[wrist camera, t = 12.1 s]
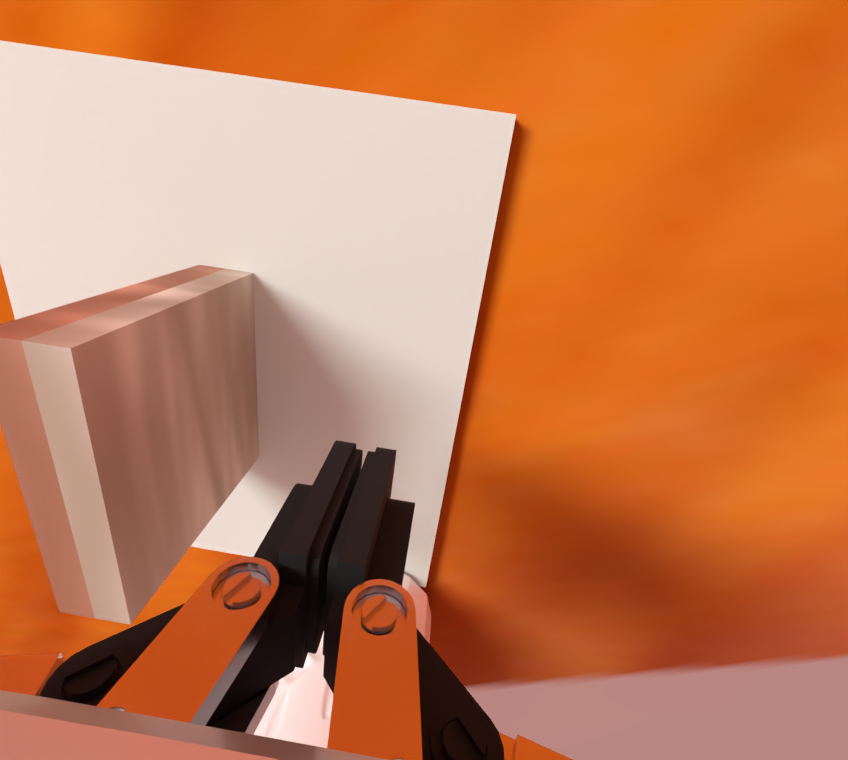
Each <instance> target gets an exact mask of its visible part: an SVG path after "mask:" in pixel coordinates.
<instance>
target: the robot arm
mask: <svg viewBox="0 0 848 760" xmlns="http://www.w3.org/2000/svg"><path fill="white" fill-rule="evenodd" d="M362 456H363V450H360V449H356V443H350V442H344V441H338V440H336V441H335V442H334V444H333V446H332V448H331V450H330V452H329V454H328V456H327V458H326V460H325V462H324V464H323V466H322V468H321V470H320V471H319V473H318V475H317V477H316V479H315V481H314V483H313V485H306V484H300V483H297V484H295V486H294V487H293V488H292V490H291V492H290V494H289V495H288V497H287V499H286V501H285V502H284V504H283V506H282V508H281V509H280V511H279V513H278V515H277V516H276V518H275V520H274V522H273V523H272V525H271V527H270V529H269V530H268V532H267V534H266V536H265V537H264V539H263V541H262V543H261V544H260V546H259V548H258V550H257V551H256V553H255V555H254V557H241V558H237V559H234V560H231V561H228V562H227V563H225V564H223V565H221V566H219V567H218V568H217V569H216V570H215V571H214V572H213V573H211V574H210V575H209V577H208V578H207V579H206V580H205V581H204V582H203V584H202V585H201V586H200V587H199V588H198V589H197V590H196V592H195V593H194V594H193V595H192V596H191V597H190V599H189V600H188V601H187V602H186V603H185V604H183V605H180V606H178V607H176V608H174V609H171V610H169V611H167V612H165V613H163V614H160V615H158V616H156V617H154V618H151V619H149V620H147V621H145V622H142V623H140V624H138V625H136V626H133V627H131V628H129V629H127V630H125V631H122V632H120V633H118V634H116V635H113V636H111V637H109V638H107V639H104V640H102V641H100V642H98V643H95V644H93V645H91V646H89V647H87V648H85V649H83V650H81V651H80V652H78V653H76V654H74V655H72V656H71V657H70V658H62V655H61V652H58V653H40V654H22V655H5V656H0V760H572V759H570V758H568V757H566V756H563V755H561V754H559V753H557V752H555V751H552V750H550V749H548V748H546V747H543V746H541V745H539V744H537V743H535V742H532V741H530V740H528V739H526V738H524V737H521V736H519V735H517V738H516V740H514V739H512V738H510V737H508V736H506V735H503V734H501V733H499V732H498V731H497V729H496V727H495V726H494V724H493V722H492V721H491V719H490V718H489V717H488V716H487V714H486V713H485V712H484V711H483V709H482V708H481V707H480V706H479V705H478V703H477V702H476V701H475V700H474V698H473V697H472V696H471V695H470V693H469V692H468V691H467V690H466V688H465V687H464V686H463V685H462V683H461V682H460V681H459V680H458V678H457V677H456V676H455V675H454V674H453V672H452V671H451V670H450V669H449V667H448V666H447V665H446V664H445V662H444V661H443V660H442V659H441V657H440V656H439V655H438V654H437V653H436V651H435V650H434V649H433V648H432V646H431V645H430V644H429V643H428V641H427V640H426V639H425V638H424V636H423V635H422V634H421V633H420V632H419V630H418V629H417V628H416V610H415V605H414V601H413V599H412V597H411V596H410V594H409V592H408V591H407V590H406V589H404V588H403V587H402V583H403V577H404V571H405V564H406V558H407V552H408V546H409V540H410V533H411V527H412V521H413V515H414V508H415V503H414V502H408V501H402V500H396V499H390V498H391V491H392V483H393V475H394V468H395V460H396V450H392V449H386V448H380V447H377V448H376V450H375V452H372V451H368V452H367V455H366V458H365V460H364V463H363V466H362ZM361 467H362V469H361ZM323 632H324V637H323V655H324V670H323V677H324V679H325V680H326V682H327V684H328V686H329V687H330V689H331V691H332V693H333V703H332V711H331V720H330V728H329V737H328V745H327V748H323V747H318V746H312V745H307V744H301V743H296V742H291V741H285V740H280V739H274V738H269V737H263V736H258V735H254V733H255V731H256V729H257V727H258V725H259V723H260V721H261V719H262V718H263V716H264V714H265V712H266V710H267V708H268V706H269V704H270V702H271V701H272V699H273V697H274V695H275V693H276V690H277V687H278V685H279V680H280V679H282V678H283V677H285V676H286V675H288V674H290V673H291V672H293V671H294V669H295V667H297V668H303V667H304V664H305V661H306V658H307V655H308V653H313V654H316V652H317V650H318V647H319V644H320V641H321V638H322V635H323Z"/></svg>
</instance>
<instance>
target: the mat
mask: <svg viewBox="0 0 848 760" xmlns="http://www.w3.org/2000/svg"><path fill="white" fill-rule="evenodd" d="M515 119H516V114H509V113H502V112H495V111H488V110H481V109H474V108H467V107H460V106H453V105H446V104H439V103H432V102H425V101H418V100H411V99H404V98H397V97H390V96H383V95H376V94H369V93H362V92H355V91H348V90H341V89H334V88H327V87H320V86H313V85H306V84H299V83H292V82H285V81H278V80H271V79H264V78H257V77H250V76H243V75H236V74H229V73H222V72H215V71H208V70H201V69H194V68H188V67H181V66H174V65H167V64H160V63H153V62H146V61H139V60H132V59H125V58H118V57H111V56H104V55H97V54H90V53H83V52H76V51H69V50H62V49H55V48H48V47H41V46H34V45H27V44H20V43H13V42H6V41H0V264H1V267H2V271H3V275H4V279H5V283H6V286H7V290H8V294H9V298H10V302H11V306H12V309H13V313H14V317H15V320H16V319H20V318H23V317H26V316H30V315H33V314H36V313H40V312H43V311H46V310H50V309H53V308H56V307H60V306H63V305H66V304H70V303H73V302H76V301H80V300H83V299H86V298H90V297H93V296H96V295H100V294H103V293H106V292H110V291H113V290H116V289H120V288H123V287H126V286H130V285H133V284H136V283H140V282H143V281H146V280H150V279H153V278H156V277H160V276H163V275H166V274H170V273H173V272H176V271H180V270H183V269H186V268H190V267H193V266H196V265H205V266H211V267H218V268H224V269H231V270H237V271H244V272H251V273H253V284H254V316H255V348H256V380H257V412H258V444H259V458H258V459H257V460H256V462H255V463H254V464H253V466H252V467H251V468H250V469H249V471H248V472H247V473H246V475H245V476H244V477H243V479H242V480H241V481H240V482H239V484H238V485H237V486H236V488H235V489H234V490H233V492H232V493H231V494H230V496H229V497H228V498H227V499H226V501H225V502H224V503H223V505H222V506H221V507H220V509H219V510H218V511H217V513H216V514H215V515H214V516H213V518H212V519H211V520H210V522H209V523H208V524H207V526H206V527H205V528H204V529H203V531H202V532H201V533H200V535H199V536H198V537H197V539H196V540H195V541H194V543H193V544H192V545H191V546H192V547H197V548H203V549H209V550H215V551H220V552H226V553H232V554H238V555H243V556H249V557H254V555H255V553H256V551H257V550H258V548H259V546H260V544H261V543H262V541H263V539H264V537H265V536H266V534H267V532H268V530H269V529H270V527H271V525H272V523H273V522H274V520H275V518H276V516H277V515H278V513H279V511H280V509H281V508H282V506H283V504H284V502H285V501H286V499H287V497H288V495H289V494H290V492H291V490H292V488H293V487H294V486H295V484H297V483H300V484H306V485H313V483H314V481H315V479H316V477H317V475H318V473H319V471H320V470H321V468H322V466H323V464H324V462H325V460H326V458H327V456H328V454H329V452H330V450H331V448H332V446H333V444H334V442H335V441H336V440H338V441H344V442H350V443H356V449H360V450H363V456H362V466H363V463H364V460H365V458H366V455H367V452H368V451H372V452H375V450H376V448H377V447H380V448H386V449H392V450H396V460H395V468H394V475H393V483H392V491H391V498H390V499H396V500H402V501H408V502H414V503H415V508H414V515H413V521H412V527H411V533H410V540H409V546H408V552H407V558H406V564H405V571H404V574H406V575H408V576H409V577H411V578H412V580H413V581H414V582H415V583H416V584H417V585H418V586H421V587H426V584H427V579H428V574H429V569H430V563H431V558H432V553H433V548H434V542H435V537H436V532H437V527H438V522H439V516H440V511H441V506H442V501H443V495H444V490H445V485H446V480H447V475H448V469H449V464H450V459H451V454H452V448H453V443H454V438H455V433H456V428H457V422H458V417H459V412H460V407H461V401H462V396H463V391H464V386H465V381H466V375H467V370H468V365H469V360H470V354H471V349H472V344H473V339H474V334H475V328H476V323H477V318H478V313H479V307H480V302H481V297H482V292H483V287H484V281H485V276H486V271H487V266H488V260H489V255H490V250H491V245H492V240H493V234H494V229H495V224H496V219H497V213H498V208H499V203H500V198H501V193H502V187H503V182H504V177H505V172H506V166H507V161H508V156H509V151H510V146H511V140H512V135H513V130H514V125H515ZM361 469H362V467H361Z"/></svg>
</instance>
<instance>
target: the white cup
mask: <svg viewBox="0 0 848 760" xmlns="http://www.w3.org/2000/svg"><path fill="white" fill-rule="evenodd" d="M402 587H403V588H404V589H406V590H407V591H408V592H409V594H410V596H411V597H412V599H413V601H414V605H415V610H416V628H417V629H418V630H419V632H420V633H421V634H422V635H423V636H424V638H425V639H426V640H427V641H428V643H429V644H430V630H431V611H430V606H429V602H428V597H427V594H426V593H425V592H424V591H423V590H422V589H421V588H420V587H419V586H418V585H417V584H416V583H415V582H414V581H413V580H412V578H411V577H409V576H408V575H406V574H404V577H403V583H402ZM323 637H324V632H323V635H322V638H321V641H320V644H319V647H318V650H317V652H316V654H313V653H308V655H307V658H306V661H305V664H304V667H303V668H297V667H295V669H294V671H293V672H291V673H290V674H288V675H286V676H285V677H283V678H282V679H280V680H279V685H278V687H277V690H276V693H275V695H274V697H273V699H272V701H271V702H270V704H269V706H268V708H267V710H266V712H265V714H264V716H263V718H262V719H261V721H260V723H259V725H258V727H257V729H256V731H255V733H254V735H258V736H263V737H269V738H274V739H280V740H285V741H291V742H296V743H301V744H307V745H312V746H318V747H323V748H327V745H328V737H329V728H330V720H331V711H332V703H333V693H332V691H331V689H330V687H329V686H328V684H327V682H326V680H325V679H324V677H323V670H324V655H323Z"/></svg>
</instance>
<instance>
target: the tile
mask: <svg viewBox="0 0 848 760" xmlns="http://www.w3.org/2000/svg"><path fill="white" fill-rule="evenodd" d="M0 424H1V427H2V430H3V433H4V437H5V440H6V443H7V446H8V449H9V452H10V456H11V459H12V462H13V465H14V468H15V472H16V475H17V478H18V481H19V484H20V488H21V491H22V494H23V497H24V500H25V504H26V507H27V510H28V513H29V516H30V520H31V523H32V526H33V529H34V532H35V536H36V539H37V542H38V545H39V548H40V552H41V555H42V558H43V561H44V564H45V568H46V571H47V574H48V577H49V580H50V584H51V587H52V590H53V593H54V596H55V600H56V603H57V606H58V609H59V612H63V613H69V614H74V615H80V616H86V617H91V618H97V619H102V620H108V621H114V622H119V623H125V624H132V622H133V621H134V620H135V618H136V617H137V616H138V614H139V613H140V612H141V610H142V609H143V608H144V607H145V605H146V604H147V603H148V601H149V600H150V599H151V597H152V596H153V595H154V593H155V592H156V591H157V590H158V588H159V587H160V586H161V584H162V583H163V582H164V580H165V579H166V578H167V577H168V575H169V574H170V573H171V571H172V570H173V569H174V567H175V566H176V565H177V563H178V562H179V561H180V560H181V558H182V557H183V556H184V554H185V553H186V552H187V550H188V549H189V548H190V546H191V545H192V544H193V543H194V541H195V540H196V539H197V537H198V536H199V535H200V533H201V532H202V531H203V529H204V528H205V527H206V526H207V524H208V523H209V522H210V520H211V519H212V518H213V516H214V515H215V514H216V513H217V511H218V510H219V509H220V507H221V506H222V505H223V503H224V502H225V501H226V499H227V498H228V497H229V496H230V494H231V493H232V492H233V490H234V489H235V488H236V486H237V485H238V484H239V482H240V481H241V480H242V479H243V477H244V476H245V475H246V473H247V472H248V471H249V469H250V468H251V467H252V466H253V464H254V463H255V462H256V460H257V459H258V458H259V444H258V412H257V380H256V348H255V316H254V284H253V273H251V272H244V271H237V270H231V269H224V268H218V267H211V266H205V265H196V266H193V267H190V268H186V269H183V270H180V271H176V272H173V273H170V274H166V275H163V276H160V277H156V278H153V279H150V280H146V281H143V282H140V283H136V284H133V285H130V286H126V287H123V288H120V289H116V290H113V291H110V292H106V293H103V294H100V295H96V296H93V297H90V298H86V299H83V300H80V301H76V302H73V303H70V304H66V305H63V306H60V307H56V308H53V309H50V310H46V311H43V312H40V313H36V314H33V315H30V316H26V317H23V318H20V319H16V320H13V321H10V322H6V323H3V324H0Z"/></svg>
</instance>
